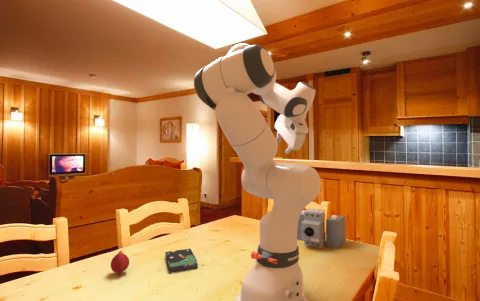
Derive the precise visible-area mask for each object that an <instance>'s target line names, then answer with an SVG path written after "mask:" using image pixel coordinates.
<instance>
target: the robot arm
mask: <svg viewBox="0 0 480 301" xmlns="http://www.w3.org/2000/svg"><path fill="white" fill-rule="evenodd" d="M276 80H277V71H276V70H275V66H274V61H273V58H272V56H271V55H270V53H269V52H268V50H267V49H266V48H265V47H264V46H262V45H259V44H251V45H250V44H248V43H244V42H243V43H241V42H239V43H237V44H235V45H233V46H232V47H231V48H230V50H228V52H227V54H226V55H223V56H221V57H219V58H217V59H215V60H214V61H212V62H211V63H210V64H208V65H205V66H203V67H201V69H199V70H198V71H197V72H196V73H195V75H194V77H193V88H194V91H195V93H196V95H197V97H198V98H199V100H201V101H202V102H203V103H204V104H205V105H206V106H208V107H209V108H210V109H212V110H214V112H215V117H216V119H217V122H218V124H219V127H220V128H221V131H222V133H223V134H224V136H225V138H226V140H228V143H229V144H230V145H231V146H230V147H232V149H233V150H234V151H235V153H236V155H237V157H238V158H239V160H240V161H241V162H242V165H243V168H244V169H243V170H242V172H241V177H240V179H241V185H242V188H243V191H245V192H246V193H249V194H251V195H253V196H255V197H259V198H264V199H269V200H273V207H272V210H270V211H268V212H267V213H265V214H263V216H262V217H261V218H260V220H259V244H258V247H257V249H256V250H257V251H255V250H253V251H251V253H250V258H251V259H253V260H255V262H254V263H253V265H252V267H251V268H250V270H249V271H248V273H247V274H246V276H245V278H244V279H243V281H242V283H241V288H240V293H239V294H238V296H236V297H235V298H234V300H233V301H309V299H308V298H307V296H306V295H305V284H304V282H305V281H304V272H303V271H302V268H301V267H300V264H299V259H300V250H299V248H300V247H299V246H298V239H297V231H298V221H299V217H300V215H301V213H302V211H304V209H305V208H306V207H307V205H309V204H310V203H312V202H313V201H314V200H315V199H316V198H317V197H318V195H319V194H320V192H321V187H322V182H321V177H320V174H319V173H318V171H317V170H316V169H315V168H314V167H311V166H308V165H305V164H301V163H292V162H291V163H289V162H277V161H276V160H275V159H274V158H275V157H276V155H277V153H278V147H279V145H278V143H281V141H282V139H283V140H284V142H286V144H287V148H285V149H284V153H285V154H286V155H287V154H288V155H289V154H291V151H292V150H293V151H299V150H300V149H301V148H302V146H303V145H304V142H305V140H306V134H308V133H309V131H310V129H309V128H308V127H309V126H308V125H307V122H306V118H307V114H308V111H309V110H310V109H311V107H312V104H313V102H314V99H315V96H316V90H317V89H315V87H314V86H312V85H310V84H309V83H307V82H303V81H299V82H298V83H297V85H296V87H295V88H293V89H289V88H286V87H285V86H283V85H281V84H280V83H278V82H277V81H276ZM252 93H253V94H255V95H258V96H259V100H260V101H261V103H262V104H264V105H265V106H267V107H269V108H271V109H273V110H274V111H276V112H277V113H278V114H280V115H278V116H277V119H276V121H275V122H274V129H275V130H276V131H277V132H276V137H275V135H274V133H273V132H272V129H271V128H270V126H269V125H268V124H269V123H268V122H267V121H266V119H265V117H264V115H263V114H262V113H261V111H260V110H259V108H258V106H256V104H255V103H254V101H253V100H252V99H251V98H250V97H249V94H252Z"/></svg>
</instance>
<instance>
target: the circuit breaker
mask: <svg viewBox="0 0 480 301" xmlns="http://www.w3.org/2000/svg"><path fill="white" fill-rule="evenodd" d="M305 210H306V211H304V210H303V211H304V221H303V222H301V240H300V241H302V240H304V241H303V245H304V246H308V247H313V248H319V249H322V248H323V246H324V245H325V243H326V232H325V231H326V230H325V228H326V227H325V226H326V224H325V223H326V221H325V220H326V213H325V212H326V210H325V209H320V208H319V209H316V208H310V207H309V208H307V209H305Z"/></svg>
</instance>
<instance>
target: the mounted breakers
mask: <svg viewBox="0 0 480 301" xmlns="http://www.w3.org/2000/svg"><path fill="white" fill-rule="evenodd" d="M306 210H307V209H305V210H304V209H303V211H302V213H301V215H300V217H299V221H298V231H297V241H303V242H304V240H301V222H303V221H304V211H306ZM325 220H326V221H325V223H326V224H325V226H326V227H325V228H326V230H325V231H326V232H325V243H326V244H325V245H326V247H327V248H328V247H329V248H332V249H336V250H338V249H340V247H342V246H343V245H345V243H346V216H344V215H339V214H332V215H331V216H329V217H328V218H325Z"/></svg>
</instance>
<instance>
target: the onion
mask: <svg viewBox="0 0 480 301" xmlns="http://www.w3.org/2000/svg"><path fill="white" fill-rule="evenodd" d="M129 266H130V258H129V257H128V256H127V255H126V254H125V253H123V250H119V251H118V252H117V254H116V255H114V256H113V258H112V259H111V261H110V269H111V271H112V272H113V273H115V274H117V275H122V274H123V272H125V271H126V270H127V269H128V268H129Z"/></svg>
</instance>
